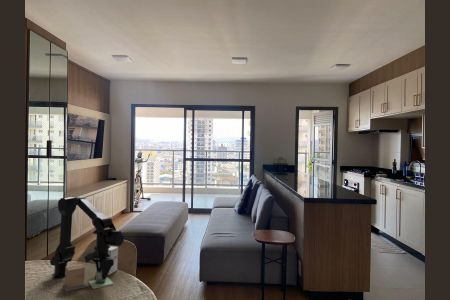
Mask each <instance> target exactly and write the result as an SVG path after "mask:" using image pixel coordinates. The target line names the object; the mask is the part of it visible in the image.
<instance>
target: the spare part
mask: <svg viewBox="0 0 450 300" xmlns="http://www.w3.org/2000/svg"><path fill="white" fill-rule="evenodd" d="M106 278H107V277H106ZM106 278H105V280H102V273H101V270H99V271H97V270H96V272H95V280H96V284H103V283H105V282H106Z"/></svg>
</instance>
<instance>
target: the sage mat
mask: <svg viewBox="0 0 450 300" xmlns="http://www.w3.org/2000/svg"><path fill="white" fill-rule="evenodd" d="M88 285H90V287H91V286H92V287H91V288H92V289H93V290H94V289H99V288H103V287H104V288H105V287H108V286H113V285H114V282H113V281H112V280H111V279H110V278H109V277H108V276H106V282H105V283H103V284H96V279H93V280H89V281H88Z"/></svg>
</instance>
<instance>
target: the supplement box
mask: <svg viewBox="0 0 450 300" xmlns="http://www.w3.org/2000/svg"><path fill="white" fill-rule="evenodd" d="M109 246H110V248H109V252H108V254H109V255H110V258H111V259H112V260H114V265H113V266H112V267H111V269H110V271H109V272H108V274H107V276H109V275H112V274H113V273H114V272H117V271H116V270H118V259H119V246H113V245H109ZM107 258H109V257H107Z"/></svg>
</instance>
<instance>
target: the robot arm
mask: <svg viewBox="0 0 450 300" xmlns="http://www.w3.org/2000/svg"><path fill="white" fill-rule="evenodd" d="M77 207H78V208H80V210H82V212H83V213H84V214H86V215H87V217H89V218H90V219H91V223H92V226H93V227H94V229H95V230H94V231H93V232H92V234H94V235H96V240H95V241H96V242H95V245H93V249H91V250H88V251H85V253H83V254H82V255H81V256H82V258H83V261H84V262H85V263H86V264H87V263H89V262H91V261H93V262H94V264H95V269H96V272H97V271H99V270H101V273H102V280H105V278H107V277H108V275H107V274H108V272H109V271H110V269H111V267H112V266H113V265H114V260H112V259H111V258H110V255H109V254H108V252H109V248H110V246H113V247H120V246H122V245H123V243H124V241H125V237H124V234H123V233H122V231H121V230H117V228H116V226H115V224H114V222H113V220H112V218H111V217H110V216H109V215H107V214H105V213H103V212H100V211H99V210H98V209H97V208H96V207H95V205H93V204H92V203H91V202H90V201H89V200H88V199H87V197H86V196H85V195H84V196H83V195H82V196H75V197H74V196H68V197H62V198H59V199H58V201H57V208H58V212H59V214H60V215H61V217H60V218H61V219H60V232H59V233H60V234H59V244H58V245H57V247H56V249H55V252H54V256H53V257H51V259H50V260H49V263H50V266H54V267H53V268H54V269H53V270H54V271H53V272H54V273H53V272H52V277H53V279H57V278H65V271H66V266H68V263H70V262H72V260H73V258H74V255H75V254H76V252H75V250H76V246H75V245H73V243H72V227H73V226H72V225H73V214H74V212H75V211H76V210H77ZM107 257H109V258H107Z"/></svg>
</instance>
